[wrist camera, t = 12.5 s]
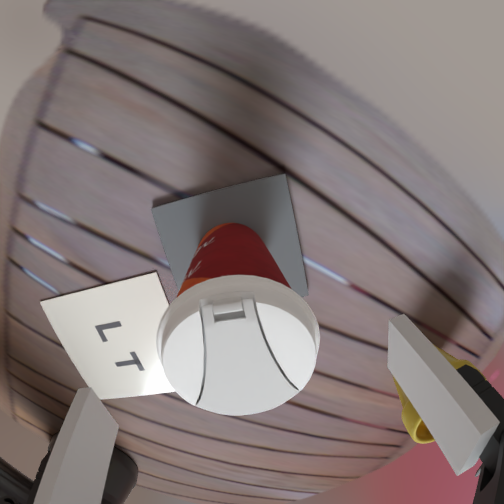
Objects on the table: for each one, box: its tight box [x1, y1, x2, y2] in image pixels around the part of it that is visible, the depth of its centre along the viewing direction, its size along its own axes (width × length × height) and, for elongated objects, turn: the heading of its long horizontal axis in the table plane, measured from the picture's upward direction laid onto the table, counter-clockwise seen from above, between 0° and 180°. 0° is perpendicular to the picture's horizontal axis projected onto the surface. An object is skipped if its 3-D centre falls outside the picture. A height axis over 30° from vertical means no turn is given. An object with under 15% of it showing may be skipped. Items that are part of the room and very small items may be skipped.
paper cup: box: [156, 223, 320, 415], centre depth 19 cm, size 8×8×14 cm
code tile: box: [40, 272, 175, 399], centre depth 29 cm, size 14×14×1 cm
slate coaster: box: [151, 173, 309, 297], centre depth 26 cm, size 11×11×1 cm
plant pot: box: [393, 344, 486, 443], centre depth 29 cm, size 10×10×10 cm
